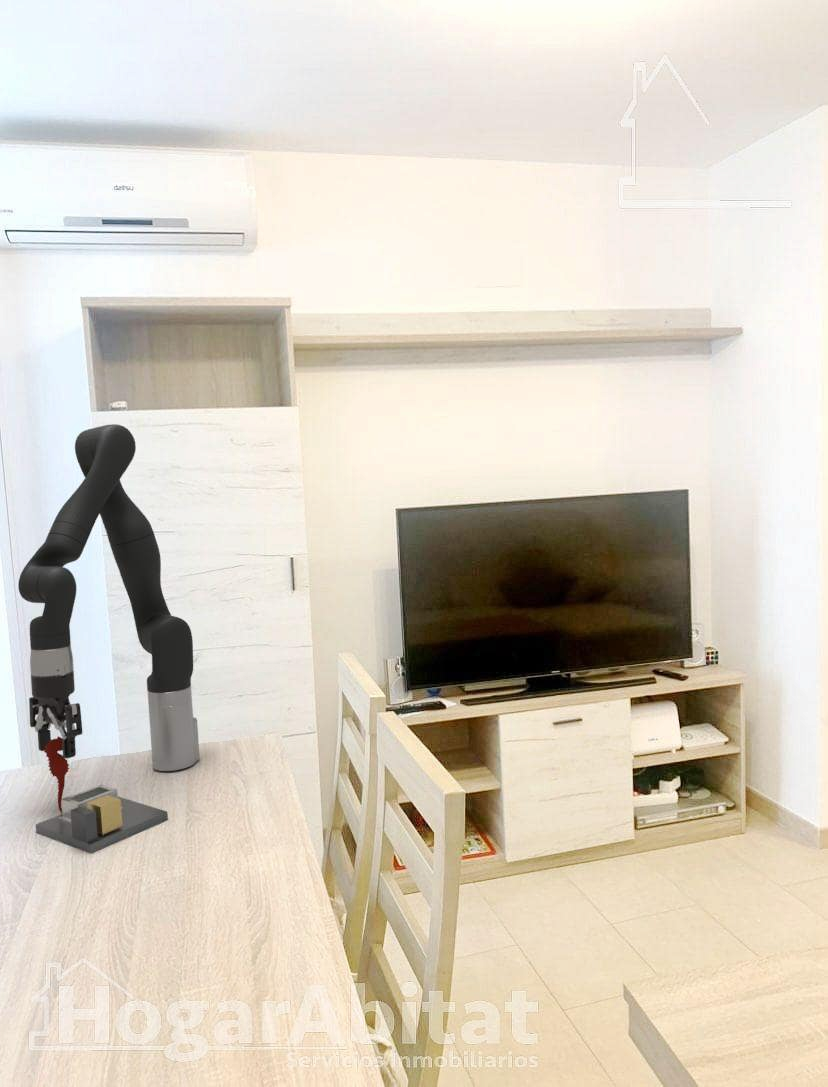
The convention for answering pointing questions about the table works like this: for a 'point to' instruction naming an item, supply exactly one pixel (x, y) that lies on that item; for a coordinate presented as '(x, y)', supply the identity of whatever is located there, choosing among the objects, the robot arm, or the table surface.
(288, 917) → the table surface
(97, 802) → the slider
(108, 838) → the press frame
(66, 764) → the toy
